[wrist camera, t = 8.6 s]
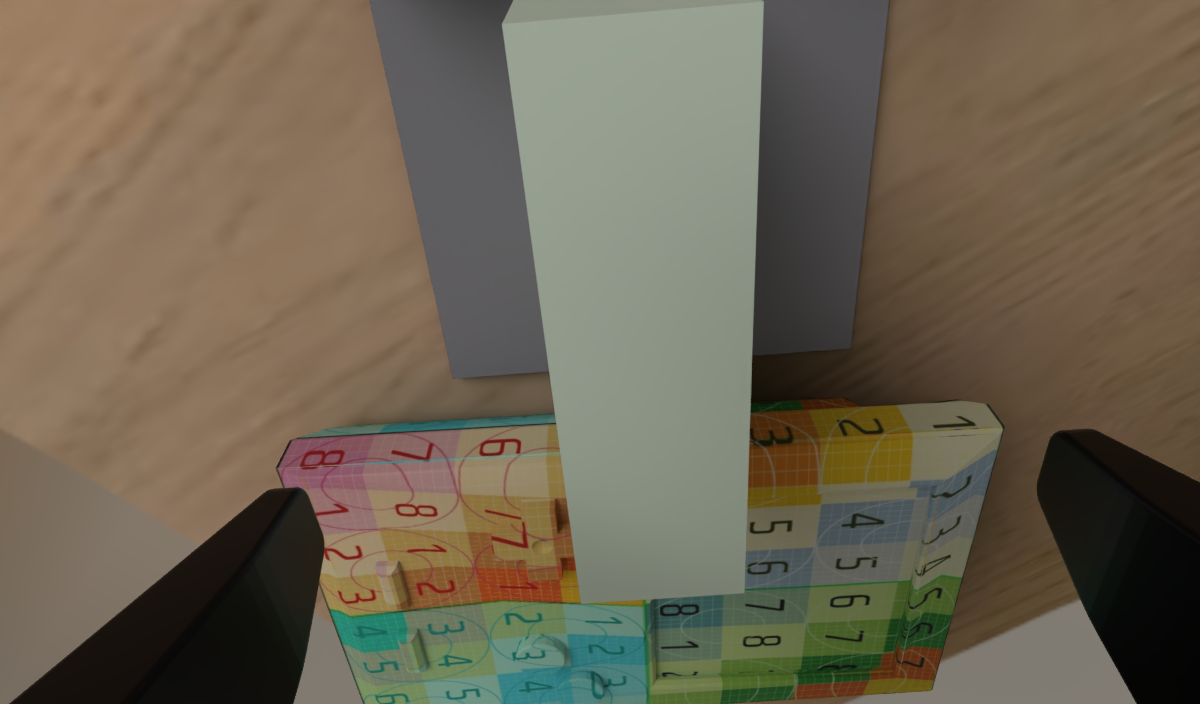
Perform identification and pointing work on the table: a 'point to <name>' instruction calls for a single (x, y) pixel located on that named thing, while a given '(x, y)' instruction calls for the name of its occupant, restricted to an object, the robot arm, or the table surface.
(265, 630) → the robot arm
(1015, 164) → the table surface
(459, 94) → the mat
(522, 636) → the puzzle game
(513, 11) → the board
